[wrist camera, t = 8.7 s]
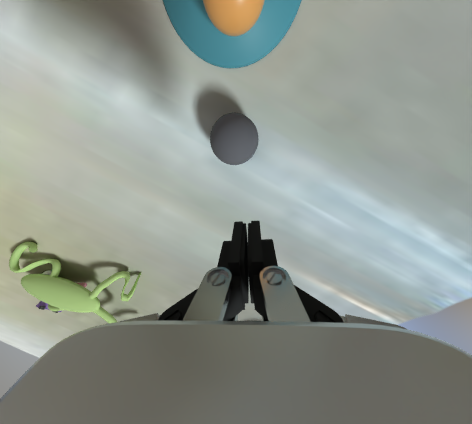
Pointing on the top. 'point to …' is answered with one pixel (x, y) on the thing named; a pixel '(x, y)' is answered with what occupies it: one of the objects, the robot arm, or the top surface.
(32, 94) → the top surface
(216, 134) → the dark gray ball
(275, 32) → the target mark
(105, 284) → the figurine
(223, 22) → the object ball
